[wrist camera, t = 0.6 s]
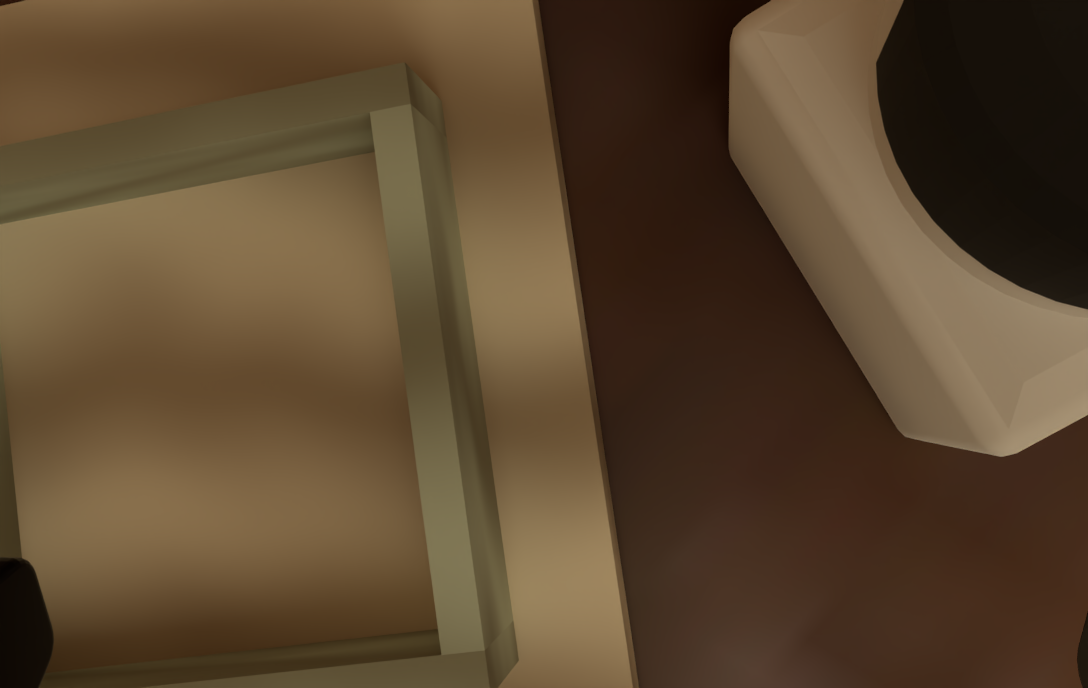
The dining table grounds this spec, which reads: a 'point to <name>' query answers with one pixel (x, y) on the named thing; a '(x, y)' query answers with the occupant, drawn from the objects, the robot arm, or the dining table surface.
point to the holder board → (299, 349)
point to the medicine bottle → (932, 198)
